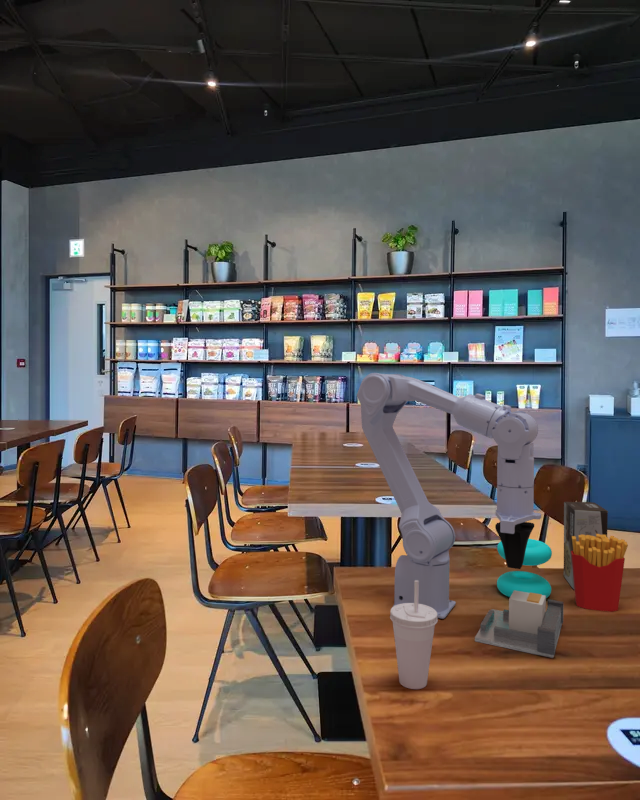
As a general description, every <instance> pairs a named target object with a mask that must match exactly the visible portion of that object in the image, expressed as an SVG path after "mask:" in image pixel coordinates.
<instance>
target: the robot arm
mask: <svg viewBox="0 0 640 800" xmlns="http://www.w3.org/2000/svg"><path fill="white" fill-rule="evenodd" d="M356 397H357V400H358V401H359V404H360V416H361V417H360V419H361V429H362V432H363V433H364V436H365V437H366V440H367V442H368V445H369V446H370V449H371V450H372V453H373V455H374V458H375V460H376V462H377V464H378V467H379V469H380V470H381V472H382V475H383V476H384V479H385V481H386V483H387V486H388V487H389V490H390V492H391V494H392V495H393V498H394V500H395V502H396V505H397V507H398V510H399V511H400V513H401V516H400V518H399V519H400V521H399V524H398V528H399V531H400V532H401V537H402V547H403V550H404V552H405V554H406V555H405V554H402V555H399V557H398V558H397V560H396V563H395V568H394V596H393V597H394V598H393V599H394V603H393V605H392V607H394V606H395V605H398V604H402V603H414V583H415V580H418V581H419V599H418V604H423V605H427V606H429V607H431V608H433V609H434V610H436V612H437V619H445V618H447V616H448V615H449V613H450V612H451V610H452V609H454V607H455V606H456V603H457V602H456V600H450V554H449V553H450V552H449V551H450V549H451V548H452V547H453V546H454V544H455V541H456V532H455V529H454V527H453V526H452V524H451V523H450V522H449V521H448V520H446V518H444V516H443V515H442V512H441V511H440V510H439V508H438V507H436V506H435V505H434V504H432V503H431V502H429V500H428V498H427V496H426V494H425V491H424V489H423V488H422V485H421V483H420V480H419V479H418V477H417V475H416V472H415V471H414V469H413V467H412V465H411V464H412V463H410V460H409V459H408V456H407V455H406V454H407V453H406V452H405V449H404V447H403V446H402V444H401V442H400V440H399V438H398V436H397V434H396V432H395V429H394V427H393V426H394V423H395V421H396V418H397V415H399V413H400V412H401V410H403V408H404V407H405V406H406V404H407V403H408V402H414V401H415V402H418V403H421V404H423V405H426V406H429V407H431V408H434V409H437V410H439V411H443V412H445V413H447V414H450V415H453V418H454V420H455V423H456V424H457V425H458V426H460V427H463V428H465V429H468V430H470V431H473V432H475V433H477V434H480V435H482V436H485V437H487V438H489V439H493V441H494V442H495V444H497V457H496V463H497V466H496V468H497V470H496V472H497V473H496V477H497V478H496V510H495V517H496V518H497V519H498V520H499V522H496V524H495V532H496V534H497V535H498V537H499V539H500V541H501V542H502V545H503V549H504V554H505V559H506V560H505V559H504V560H505V562H506V566H507V567H506V568H510V569H516V570H521V569H522V567H523V566H524V565H523V561H524V556H525V551H526V546H527V542H528V539H530V536H531V534H532V531H533V530H534V528H535V523H534V522H531V521H532V520H541V519H542V513H540V512H534V511H535V510H534V503H535V502H534V497H535V493H534V490H535V489H534V487H535V486H534V485H535V481H534V480H535V478H534V477H535V457H534V441H535V439H536V438H537V436H538V434H539V426H538V423H537V421H536V419H535V418H534V417H533V416H532V415H530V414H529V413H527V412H526V411H523V410H517V411H513V412H512V406H511V405H509V404H508V405H507V404H504V405H503V406H502V405H500V404H497V403H495V402H492V401H490V400H487V399H486V395H484V394H481V393H475V394H470V393H469V394H466V395H465V396H463V397H459V396H457V395H456V394H453V393H450V392H448V391H445V390H443V389H441V388H438V387H437V386H434V385H432V384H430V383H427V382H426V381H424V380H420V379H418V378H415V377H413V376H412V377H411V376H405V375H403V374H400V373H393V374H392V373H391V374H390V373H387V374H386V373H378V372H371V373H369V374H366V376H365V377H364V378H363V379H362V381H361V383H360V385H359V388H358V391H357V393H356Z"/></svg>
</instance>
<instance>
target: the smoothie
mask: <svg viewBox="0 0 640 800" xmlns="http://www.w3.org/2000/svg"><path fill="white" fill-rule="evenodd" d="M418 599H419V581H418V580H415V583H414V603H402V604H398V605H395V606H394V607H393V606H392V607H391V608H390V614H389V615H390V616H389V618H390V620H391V622H392V627H393V628H392V629H393V635H394V636H393V637H394V643H395V644H394V645H395V646H394V647H395V653H396V662H397V672H398V682H399V684H400V685H402V686H403V687H404V688H406V689H407V688H408V689H410V690H420V689H424V688H425V687H426V686H427V685H428V678H429V670H430V664H431V663H430V662H431V655H432V647H433V641H434V635H435V634H434V633H435V626H436V625H437V623H438V622H439V621H438V619H439V618H437V612H436V610H434V609H433V608H431V607H429V606H427V605H423V604H418Z"/></svg>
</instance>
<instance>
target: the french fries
mask: <svg viewBox="0 0 640 800" xmlns="http://www.w3.org/2000/svg"><path fill="white" fill-rule="evenodd" d="M572 543H573V551H571V558H572V568H573V579H574V589H573V591H574V599H575V604H576V606H577V607H579V608H582V609H585V610H592V611H601V612H610V613H611V612H616V611H619V605H620V598H621V591H622V590H621V589H622V584H623V575H624V569H625V568H624V567H625V560H626V558H625V555H626V552H627V548H628V546H629V545H628V542H627V541H626V540H625V539H622V538H621V539H619V538H618V537H615V536H614V535H610V536H609V537H608V536H607V537H606V535H600V534H596V537H595V536H590V535H586V536H585V535H582V534H581V535H579V541H576V537H575V536H572Z"/></svg>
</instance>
